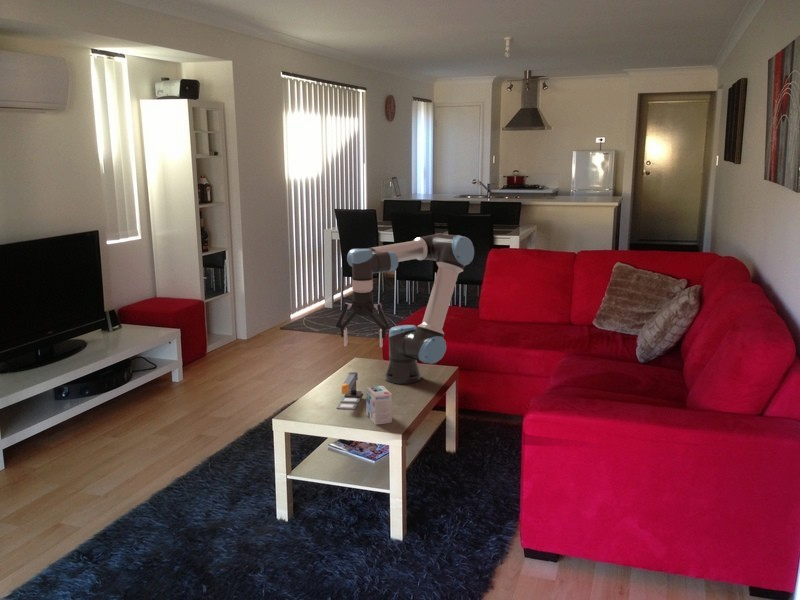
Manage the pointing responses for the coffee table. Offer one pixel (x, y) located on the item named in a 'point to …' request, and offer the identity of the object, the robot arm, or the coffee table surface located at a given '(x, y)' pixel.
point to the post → (353, 392)
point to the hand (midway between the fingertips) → (363, 346)
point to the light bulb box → (379, 405)
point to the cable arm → (349, 382)
